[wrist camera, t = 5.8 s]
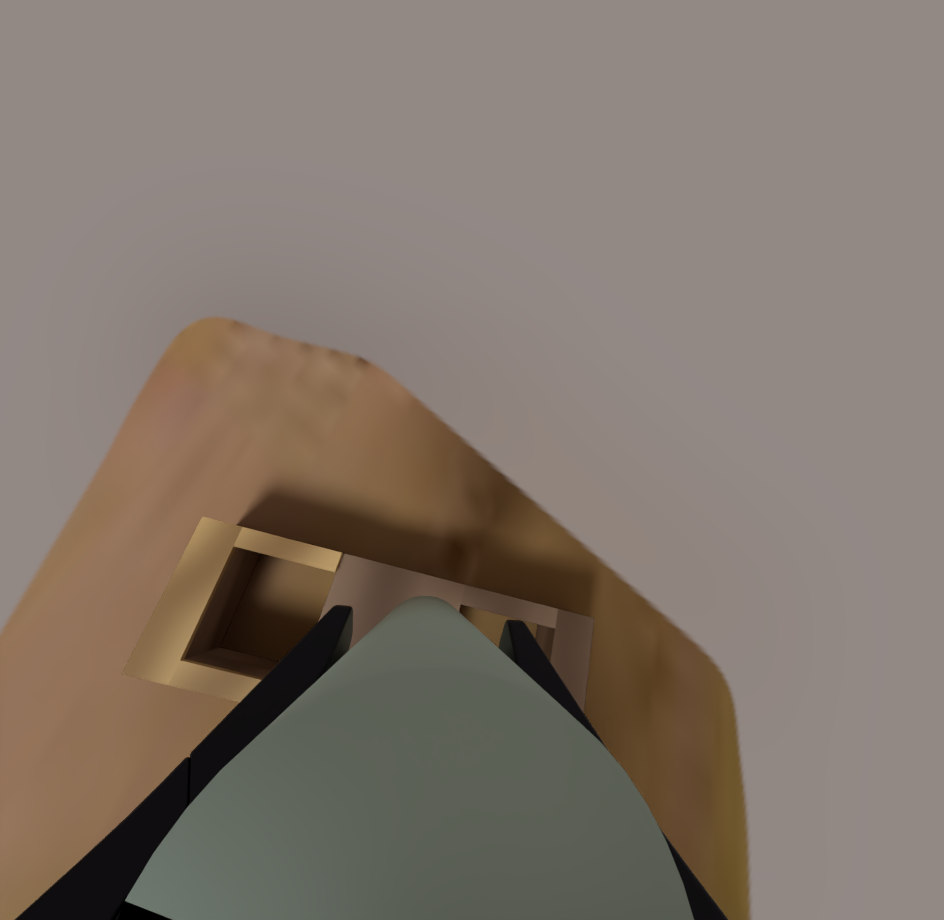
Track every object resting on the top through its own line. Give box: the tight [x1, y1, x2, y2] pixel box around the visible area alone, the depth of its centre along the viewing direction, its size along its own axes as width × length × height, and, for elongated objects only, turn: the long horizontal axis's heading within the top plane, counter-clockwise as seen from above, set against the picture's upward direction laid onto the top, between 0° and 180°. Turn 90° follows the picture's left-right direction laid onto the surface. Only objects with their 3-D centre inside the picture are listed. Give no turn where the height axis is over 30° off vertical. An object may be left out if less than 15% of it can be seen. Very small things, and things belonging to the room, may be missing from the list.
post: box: [118, 596, 694, 920], centre depth 8 cm, size 4×4×13 cm
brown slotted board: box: [122, 517, 594, 713], centre depth 19 cm, size 21×7×3 cm, turn 77°
